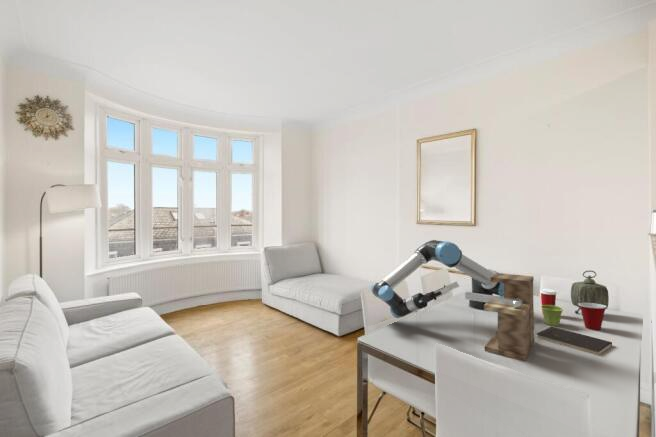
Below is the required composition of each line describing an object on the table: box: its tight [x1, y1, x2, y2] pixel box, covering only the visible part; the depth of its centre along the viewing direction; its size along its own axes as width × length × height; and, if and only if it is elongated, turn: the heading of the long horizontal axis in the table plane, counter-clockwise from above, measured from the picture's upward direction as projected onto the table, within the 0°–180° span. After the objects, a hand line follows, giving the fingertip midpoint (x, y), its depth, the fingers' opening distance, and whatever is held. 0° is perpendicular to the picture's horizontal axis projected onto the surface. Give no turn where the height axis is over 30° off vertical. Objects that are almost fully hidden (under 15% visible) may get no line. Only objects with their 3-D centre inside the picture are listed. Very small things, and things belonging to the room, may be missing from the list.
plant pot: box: [540, 304, 564, 327], centre depth 161 cm, size 9×9×9 cm
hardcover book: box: [536, 325, 613, 356], centre depth 140 cm, size 16×23×2 cm
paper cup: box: [539, 288, 557, 316], centre depth 174 cm, size 8×8×14 cm
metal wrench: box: [464, 291, 523, 309], centre depth 136 cm, size 22×8×3 cm, turn 49°
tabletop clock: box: [570, 270, 610, 314], centre depth 172 cm, size 14×9×25 cm, turn 84°
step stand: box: [483, 272, 535, 362], centre depth 136 cm, size 15×23×30 cm, turn 139°
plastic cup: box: [578, 303, 607, 331], centre depth 154 cm, size 11×11×12 cm
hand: (452, 286), depth 147 cm, fingers open, 13 cm apart
